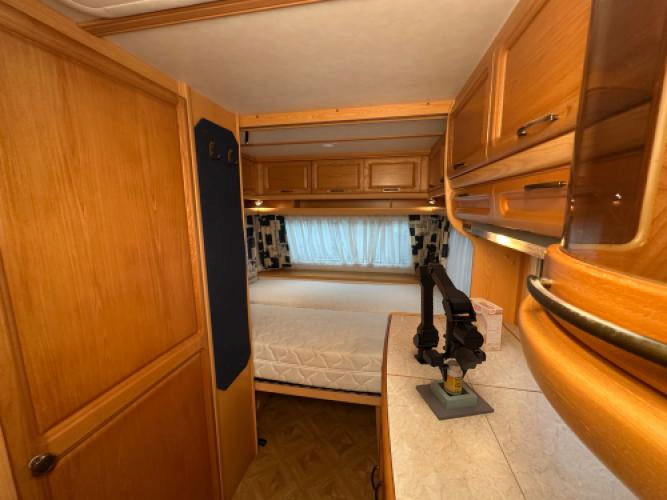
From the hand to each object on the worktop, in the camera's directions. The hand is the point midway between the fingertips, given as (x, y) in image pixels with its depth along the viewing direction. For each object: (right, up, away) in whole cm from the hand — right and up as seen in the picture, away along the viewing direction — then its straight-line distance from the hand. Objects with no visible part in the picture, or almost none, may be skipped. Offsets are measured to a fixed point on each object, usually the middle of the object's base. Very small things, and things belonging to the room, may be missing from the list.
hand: (453, 380), depth 88 cm
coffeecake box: (+30, -1, +38) cm, 49 cm away
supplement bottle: (0, -4, 0) cm, 4 cm away
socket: (0, -7, +1) cm, 7 cm away
